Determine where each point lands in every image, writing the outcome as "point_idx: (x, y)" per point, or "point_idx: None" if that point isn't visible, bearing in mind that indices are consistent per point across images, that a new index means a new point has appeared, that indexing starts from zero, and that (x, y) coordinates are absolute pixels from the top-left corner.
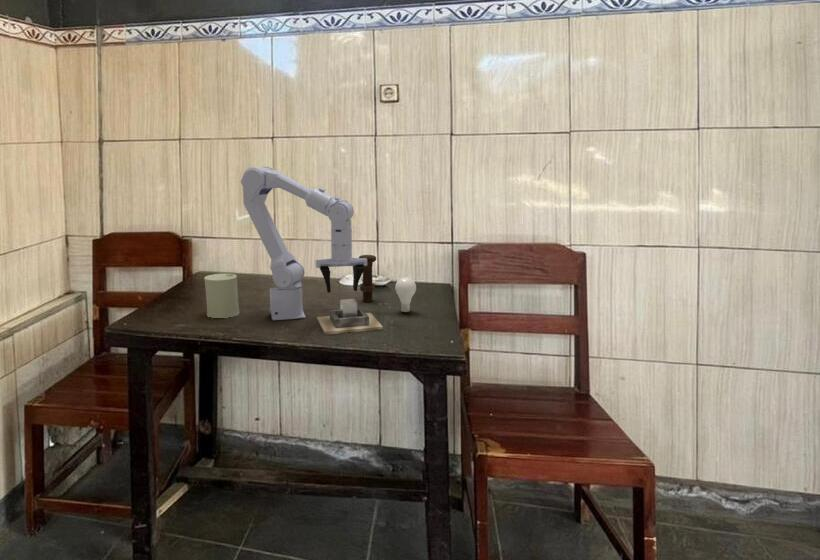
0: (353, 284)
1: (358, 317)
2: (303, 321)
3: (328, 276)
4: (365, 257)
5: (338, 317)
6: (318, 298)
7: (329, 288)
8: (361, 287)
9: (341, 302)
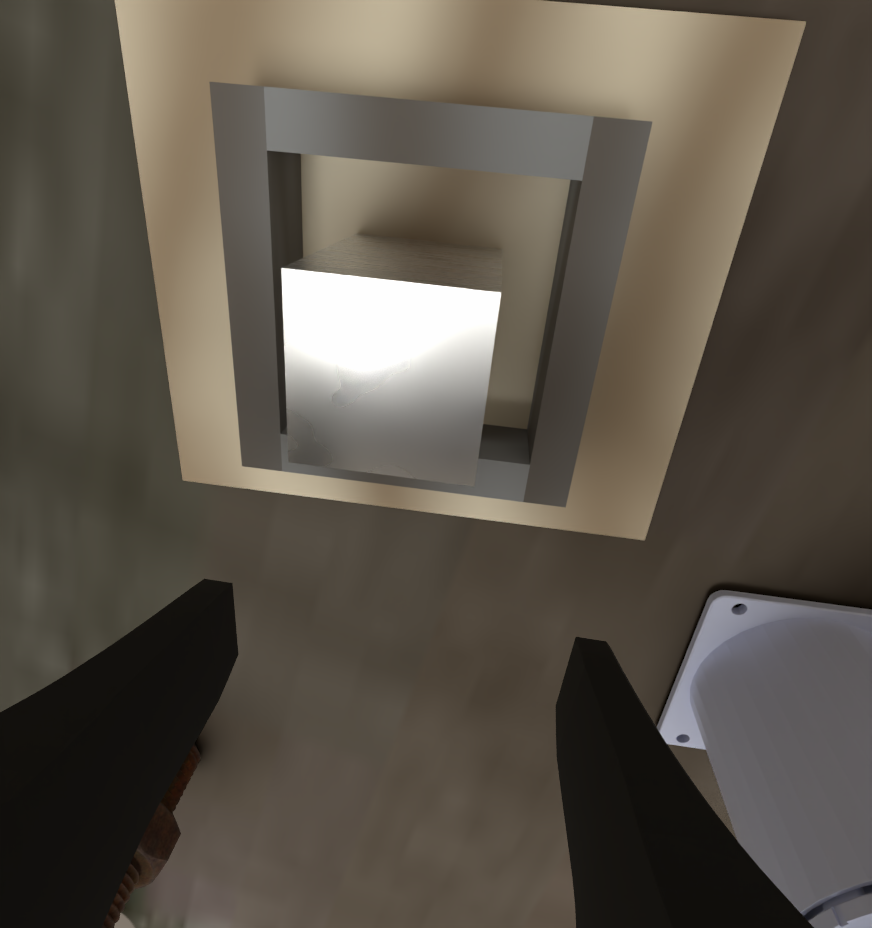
0: (203, 706)
1: (342, 115)
2: (762, 527)
3: (698, 893)
4: None
5: (577, 212)
6: (457, 874)
7: (605, 677)
8: (161, 847)
9: (487, 389)
